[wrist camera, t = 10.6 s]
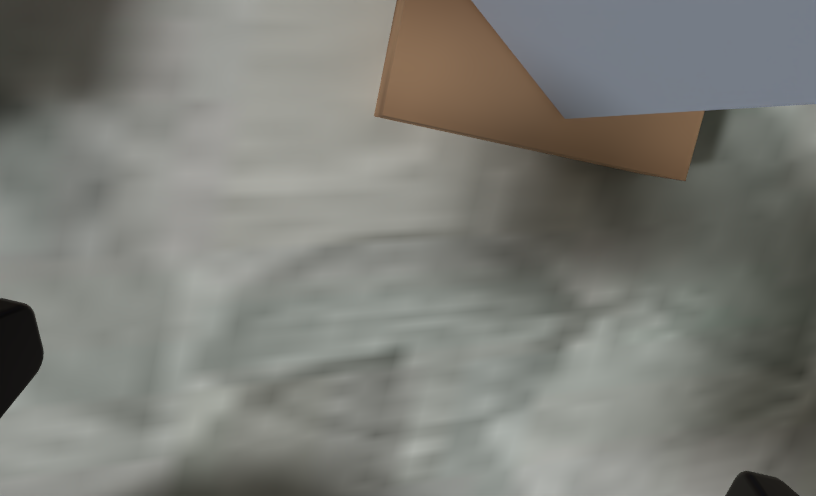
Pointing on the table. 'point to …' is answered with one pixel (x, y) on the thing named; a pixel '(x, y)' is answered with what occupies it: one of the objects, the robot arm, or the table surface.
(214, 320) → the table surface
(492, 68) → the pedestal
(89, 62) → the table surface
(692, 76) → the pillar
